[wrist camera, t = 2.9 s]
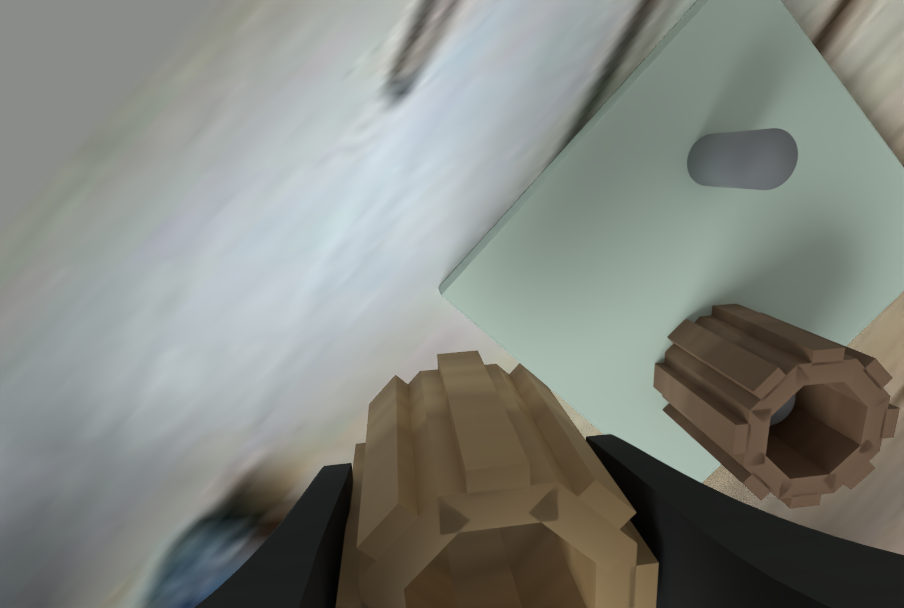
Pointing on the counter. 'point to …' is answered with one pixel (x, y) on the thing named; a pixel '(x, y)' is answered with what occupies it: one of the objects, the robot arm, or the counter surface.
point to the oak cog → (485, 501)
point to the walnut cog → (776, 402)
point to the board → (692, 221)
